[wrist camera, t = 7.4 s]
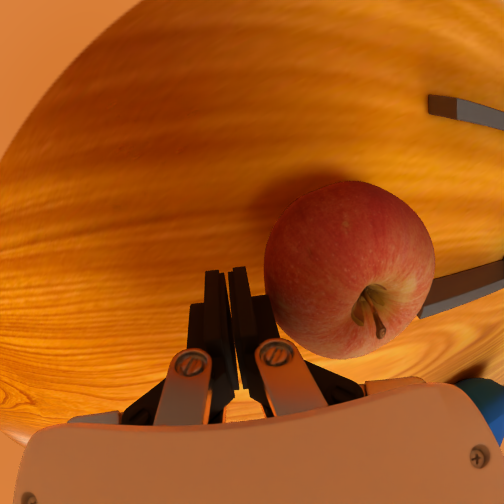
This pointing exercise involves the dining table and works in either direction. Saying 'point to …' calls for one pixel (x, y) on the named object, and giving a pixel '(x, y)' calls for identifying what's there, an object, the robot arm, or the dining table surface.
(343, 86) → the dining table surface
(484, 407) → the vase
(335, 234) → the apple
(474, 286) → the bay
